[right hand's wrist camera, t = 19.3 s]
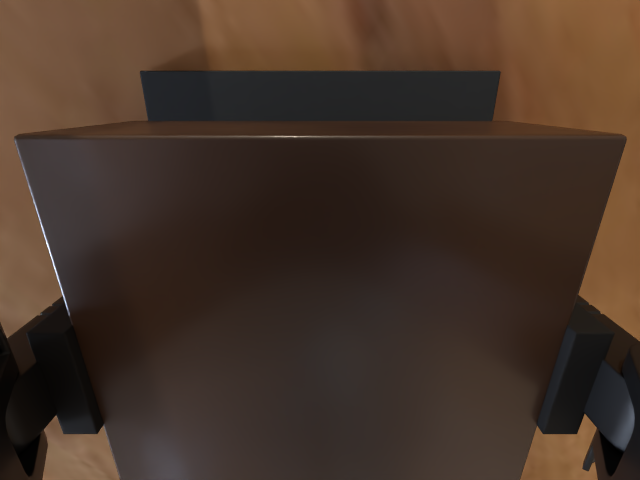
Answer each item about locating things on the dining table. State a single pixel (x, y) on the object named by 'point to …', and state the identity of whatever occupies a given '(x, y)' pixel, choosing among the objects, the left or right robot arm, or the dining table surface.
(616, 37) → the dining table surface
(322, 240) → the walnut cap
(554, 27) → the dining table surface
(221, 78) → the slate mat
